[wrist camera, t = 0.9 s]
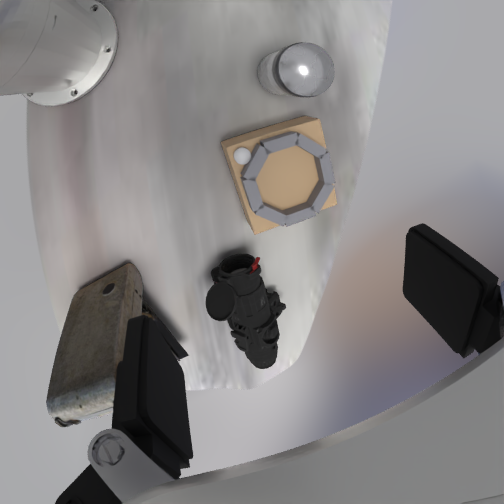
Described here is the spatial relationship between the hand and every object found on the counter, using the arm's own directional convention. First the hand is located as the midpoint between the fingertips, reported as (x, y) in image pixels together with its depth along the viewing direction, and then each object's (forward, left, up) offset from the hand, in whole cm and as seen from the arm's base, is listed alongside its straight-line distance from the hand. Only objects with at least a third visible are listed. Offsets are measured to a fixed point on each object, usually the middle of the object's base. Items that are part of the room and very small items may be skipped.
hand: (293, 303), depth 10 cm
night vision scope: (+20, -2, -26) cm, 33 cm away
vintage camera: (+16, -17, -26) cm, 35 cm away
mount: (+4, +6, -26) cm, 27 cm away
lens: (-7, +10, -26) cm, 29 cm away
